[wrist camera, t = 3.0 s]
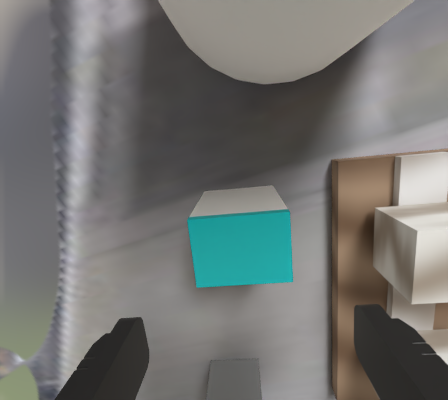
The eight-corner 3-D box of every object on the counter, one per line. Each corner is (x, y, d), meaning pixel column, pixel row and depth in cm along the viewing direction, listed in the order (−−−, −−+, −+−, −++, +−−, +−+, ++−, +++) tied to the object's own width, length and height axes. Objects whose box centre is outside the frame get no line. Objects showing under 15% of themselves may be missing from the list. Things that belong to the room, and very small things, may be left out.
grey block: (210, 359, 28) (205, 407, 23) (258, 358, 27) (262, 406, 22) (215, 389, 29) (210, 441, 24) (260, 388, 28) (265, 441, 23)
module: (204, 191, 23) (187, 220, 15) (272, 185, 23) (289, 212, 15) (210, 238, 24) (196, 287, 17) (275, 233, 24) (292, 281, 16)
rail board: (331, 159, 22) (376, 172, 15) (485, 145, 21) (611, 151, 14) (332, 387, 28) (364, 474, 21) (452, 384, 27) (529, 474, 20)
